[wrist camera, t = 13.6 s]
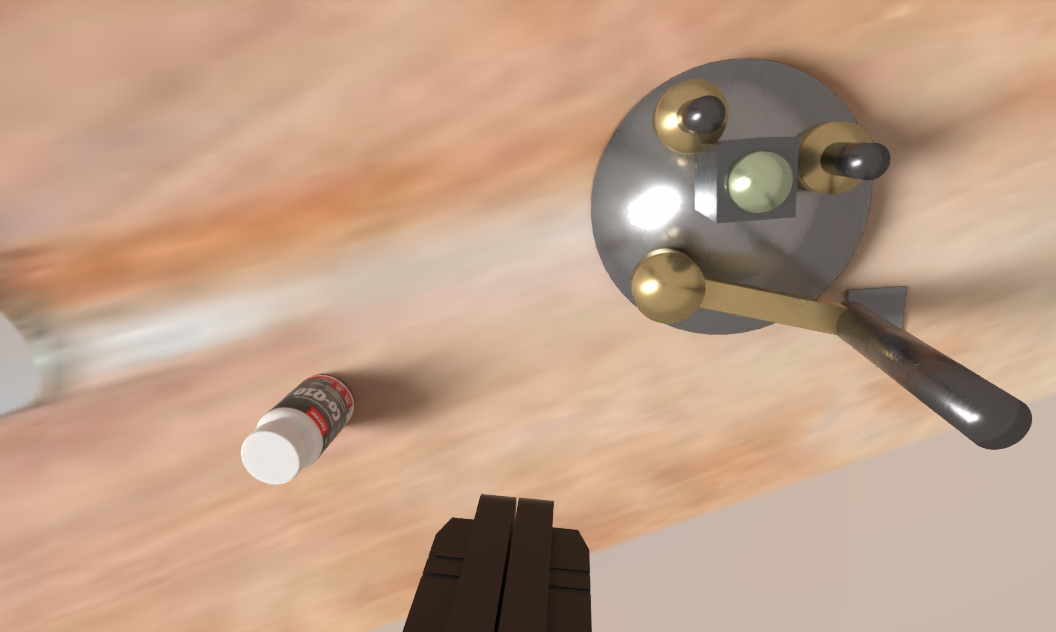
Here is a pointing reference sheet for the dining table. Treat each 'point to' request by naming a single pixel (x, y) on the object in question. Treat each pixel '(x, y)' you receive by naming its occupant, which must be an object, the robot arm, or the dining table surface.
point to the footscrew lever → (935, 379)
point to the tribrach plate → (733, 247)
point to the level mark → (882, 302)
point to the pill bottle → (297, 429)
